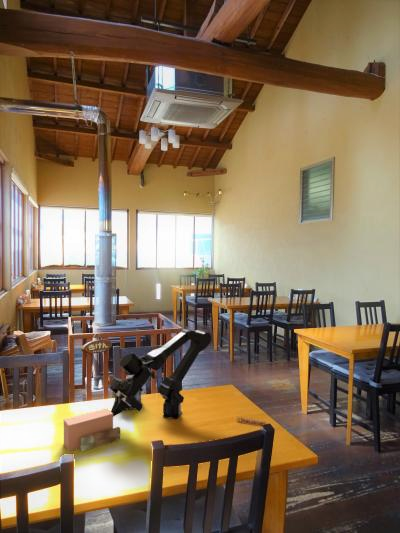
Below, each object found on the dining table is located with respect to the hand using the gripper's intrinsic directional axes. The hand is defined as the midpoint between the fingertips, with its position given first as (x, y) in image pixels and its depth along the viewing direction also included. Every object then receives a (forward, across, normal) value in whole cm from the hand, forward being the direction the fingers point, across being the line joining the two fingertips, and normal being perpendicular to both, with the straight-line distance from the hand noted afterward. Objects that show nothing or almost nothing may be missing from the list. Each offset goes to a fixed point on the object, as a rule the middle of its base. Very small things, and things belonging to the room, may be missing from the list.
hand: (110, 416), depth 136 cm
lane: (+9, 0, +1) cm, 9 cm away
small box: (-8, -19, +17) cm, 27 cm away
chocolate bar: (-30, +24, +40) cm, 56 cm away
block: (+11, 0, -1) cm, 11 cm away
